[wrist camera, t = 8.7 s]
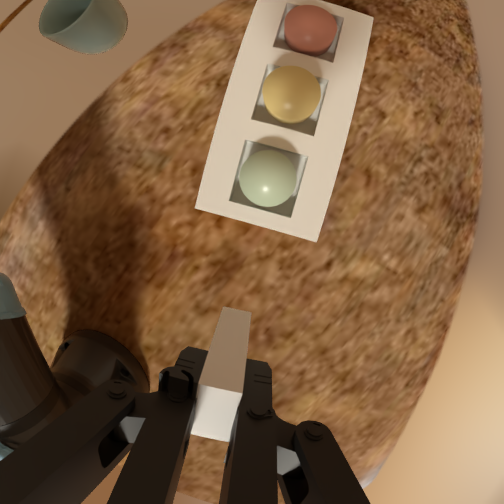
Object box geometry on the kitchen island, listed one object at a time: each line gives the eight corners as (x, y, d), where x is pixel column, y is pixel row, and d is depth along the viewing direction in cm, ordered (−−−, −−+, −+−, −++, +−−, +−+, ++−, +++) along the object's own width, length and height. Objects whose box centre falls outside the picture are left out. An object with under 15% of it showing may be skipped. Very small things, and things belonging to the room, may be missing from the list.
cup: (139, 4, 26) (103, -34, 16) (133, 53, 28) (89, 21, 18) (89, 20, 27) (46, -8, 17) (81, 67, 28) (31, 46, 19)
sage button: (237, 196, 30) (232, 198, 27) (250, 147, 28) (247, 144, 26) (286, 209, 30) (287, 213, 27) (300, 160, 28) (303, 159, 25)
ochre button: (257, 116, 27) (255, 109, 24) (271, 70, 25) (270, 59, 22) (309, 130, 27) (313, 125, 24) (321, 84, 25) (326, 74, 22)
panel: (202, 205, 32) (194, 208, 29) (263, 1, 25) (261, -13, 22) (312, 236, 32) (316, 242, 29) (366, 28, 25) (373, 17, 22)
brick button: (278, 49, 26) (278, 37, 23) (290, 13, 24) (290, -1, 21) (326, 62, 26) (331, 51, 23) (336, 25, 24) (341, 13, 21)
